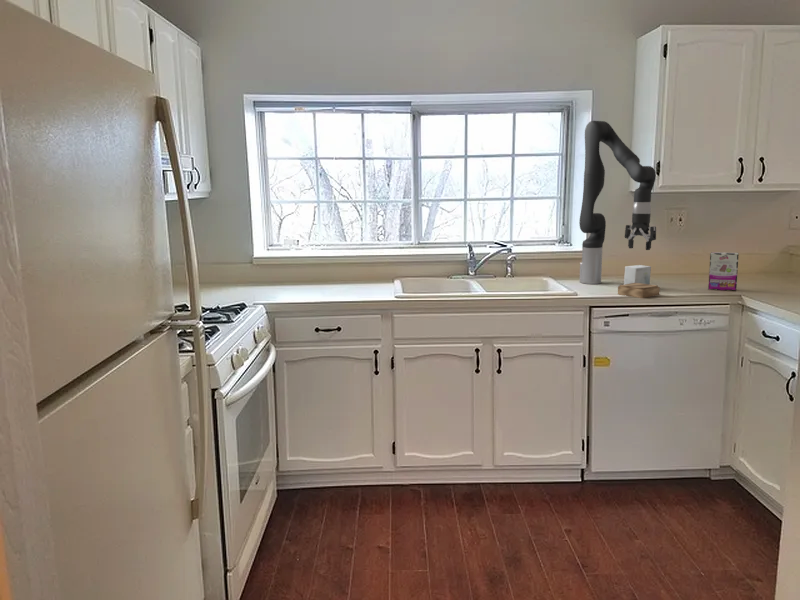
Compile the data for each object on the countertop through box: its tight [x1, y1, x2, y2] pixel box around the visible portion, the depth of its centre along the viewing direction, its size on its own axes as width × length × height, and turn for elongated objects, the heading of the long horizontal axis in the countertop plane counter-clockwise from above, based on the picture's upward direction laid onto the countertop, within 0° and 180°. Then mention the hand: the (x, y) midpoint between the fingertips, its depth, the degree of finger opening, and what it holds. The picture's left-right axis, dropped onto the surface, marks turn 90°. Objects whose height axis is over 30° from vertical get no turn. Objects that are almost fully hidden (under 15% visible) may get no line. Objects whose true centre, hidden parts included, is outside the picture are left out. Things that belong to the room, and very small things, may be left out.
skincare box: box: [623, 264, 652, 285], centre depth 283 cm, size 10×6×10 cm, turn 122°
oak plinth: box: [617, 283, 661, 299], centre depth 269 cm, size 12×12×4 cm
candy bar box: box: [708, 251, 740, 291], centre depth 277 cm, size 11×5×16 cm, turn 62°
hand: (639, 249), depth 280 cm, fingers open, 8 cm apart
